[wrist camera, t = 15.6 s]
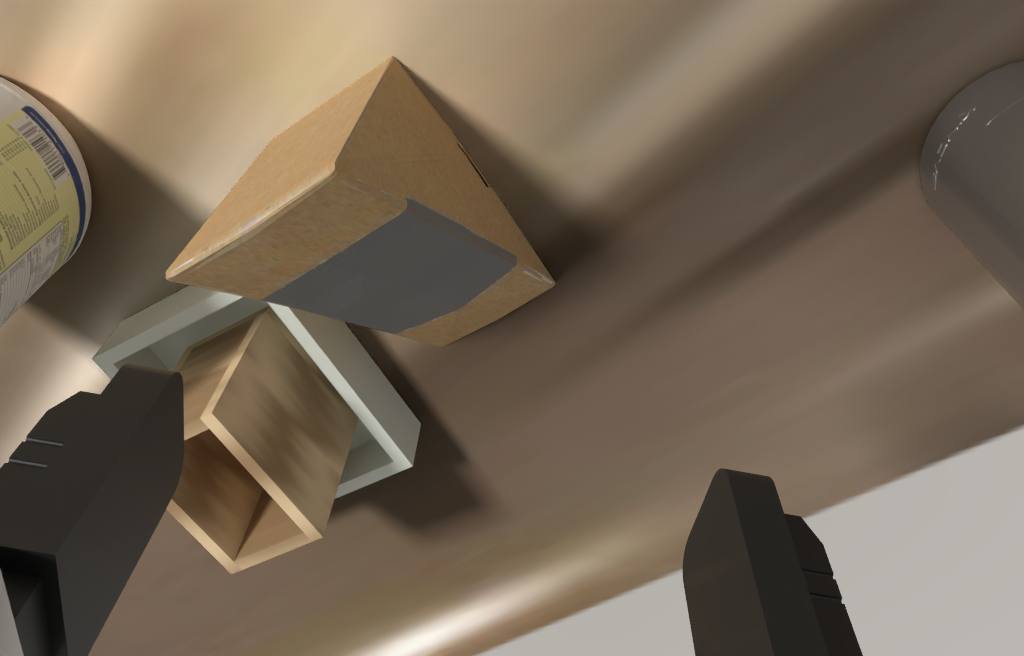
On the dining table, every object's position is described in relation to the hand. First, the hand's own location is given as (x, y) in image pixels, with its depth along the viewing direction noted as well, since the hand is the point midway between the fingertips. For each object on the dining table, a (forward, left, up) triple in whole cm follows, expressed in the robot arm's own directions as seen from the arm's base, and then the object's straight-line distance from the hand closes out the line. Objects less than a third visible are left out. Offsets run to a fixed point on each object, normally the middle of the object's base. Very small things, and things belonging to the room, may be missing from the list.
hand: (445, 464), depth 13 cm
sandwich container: (+3, +12, -33) cm, 36 cm away
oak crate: (+10, +24, -32) cm, 41 cm away
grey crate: (+10, +24, -33) cm, 42 cm away
